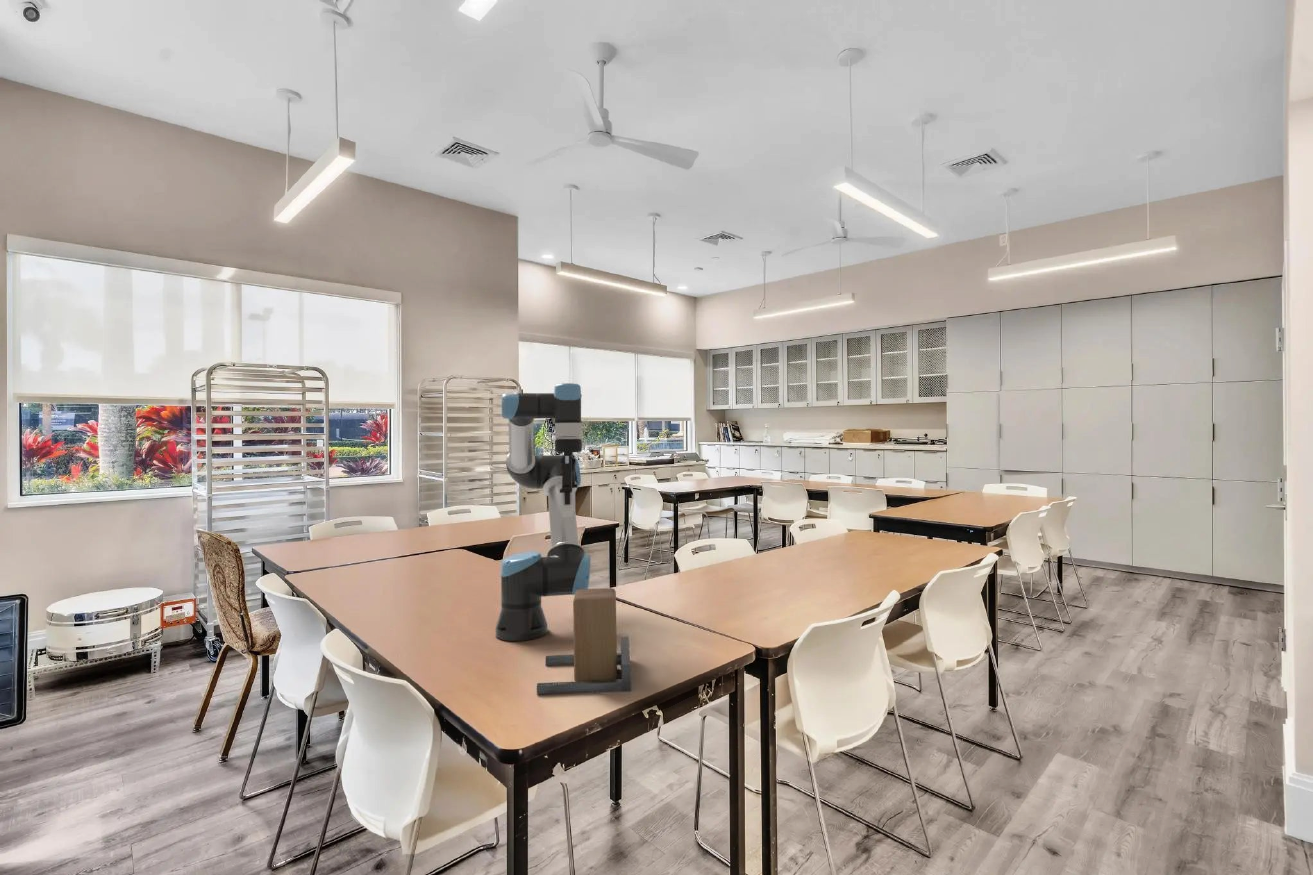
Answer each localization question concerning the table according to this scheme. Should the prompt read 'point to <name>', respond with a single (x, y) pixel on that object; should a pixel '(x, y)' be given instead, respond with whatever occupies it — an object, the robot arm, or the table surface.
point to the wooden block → (595, 634)
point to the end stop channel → (589, 686)
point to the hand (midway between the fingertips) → (569, 513)
